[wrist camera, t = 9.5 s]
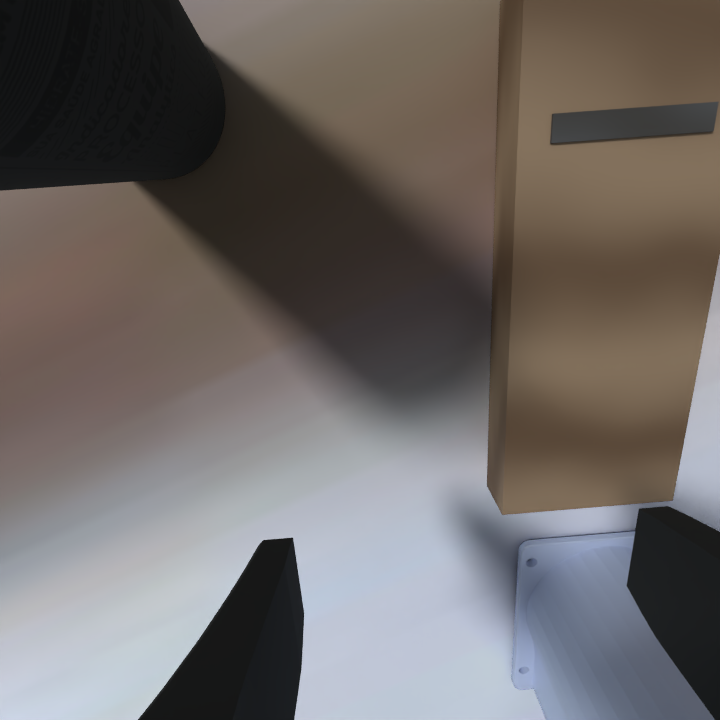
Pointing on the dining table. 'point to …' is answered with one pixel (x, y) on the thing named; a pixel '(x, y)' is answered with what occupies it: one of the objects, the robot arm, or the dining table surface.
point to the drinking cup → (103, 93)
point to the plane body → (600, 246)
